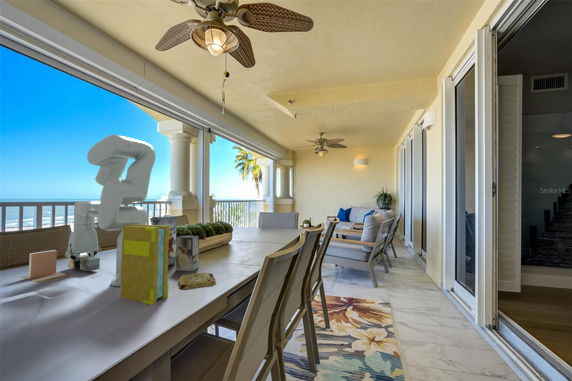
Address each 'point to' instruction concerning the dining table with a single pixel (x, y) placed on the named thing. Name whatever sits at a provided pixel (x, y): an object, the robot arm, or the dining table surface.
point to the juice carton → (170, 221)
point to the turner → (86, 263)
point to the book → (145, 262)
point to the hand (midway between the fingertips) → (83, 267)
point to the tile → (42, 263)
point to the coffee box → (187, 253)
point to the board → (48, 277)
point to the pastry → (196, 280)
